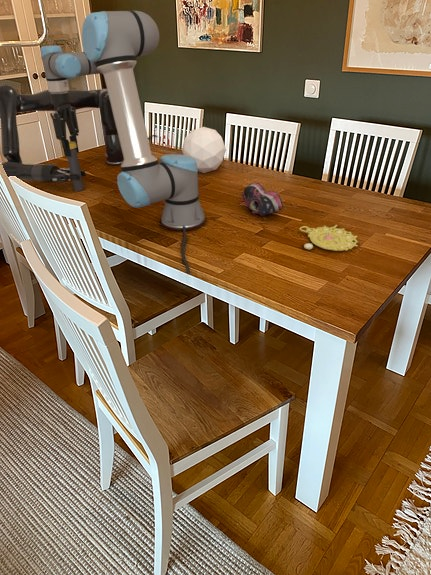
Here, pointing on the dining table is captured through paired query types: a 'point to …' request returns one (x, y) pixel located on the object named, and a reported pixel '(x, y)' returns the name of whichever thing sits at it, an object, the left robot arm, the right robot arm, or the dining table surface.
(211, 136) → the sphere
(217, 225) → the dining table surface
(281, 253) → the dining table surface
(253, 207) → the athletic shoe
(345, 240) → the decorative object
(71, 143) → the lid
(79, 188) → the dark grey cylinder
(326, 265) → the dining table surface
